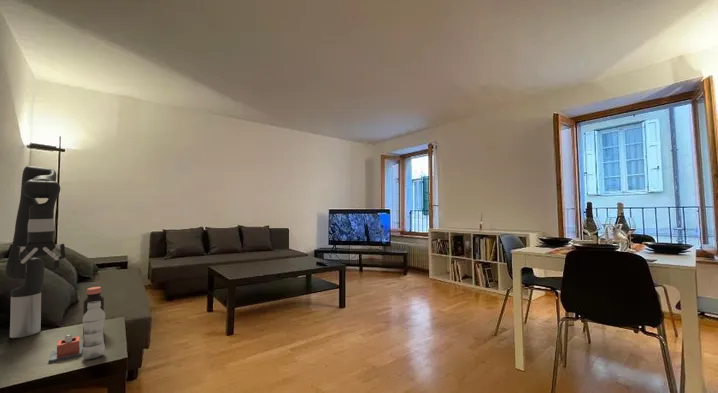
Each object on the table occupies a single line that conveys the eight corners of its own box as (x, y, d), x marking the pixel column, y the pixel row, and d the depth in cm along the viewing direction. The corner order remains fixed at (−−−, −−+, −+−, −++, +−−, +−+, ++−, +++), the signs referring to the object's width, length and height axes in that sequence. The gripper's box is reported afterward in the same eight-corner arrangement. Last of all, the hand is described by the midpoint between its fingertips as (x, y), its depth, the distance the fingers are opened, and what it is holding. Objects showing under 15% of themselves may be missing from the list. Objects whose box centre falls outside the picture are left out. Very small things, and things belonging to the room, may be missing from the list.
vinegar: (104, 334, 135) (104, 287, 136) (83, 339, 131) (84, 291, 131) (102, 329, 140) (103, 285, 141) (82, 334, 135) (83, 288, 136)
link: (56, 356, 113) (56, 345, 113) (57, 351, 117) (58, 340, 117) (79, 351, 117) (79, 340, 117) (79, 346, 121) (79, 336, 121)
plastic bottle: (85, 355, 116) (86, 301, 116) (108, 352, 118) (108, 299, 119) (77, 363, 110) (78, 306, 110) (100, 359, 112) (101, 303, 113)
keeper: (50, 353, 117) (51, 335, 117) (85, 345, 124) (86, 328, 124) (48, 363, 110) (48, 343, 110) (86, 354, 116) (86, 335, 117)
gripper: (13, 232, 117) (12, 275, 116) (65, 229, 126) (64, 269, 126) (16, 231, 123) (15, 272, 122) (66, 229, 132) (65, 267, 131)
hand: (40, 271), depth 124 cm, fingers open, 8 cm apart
